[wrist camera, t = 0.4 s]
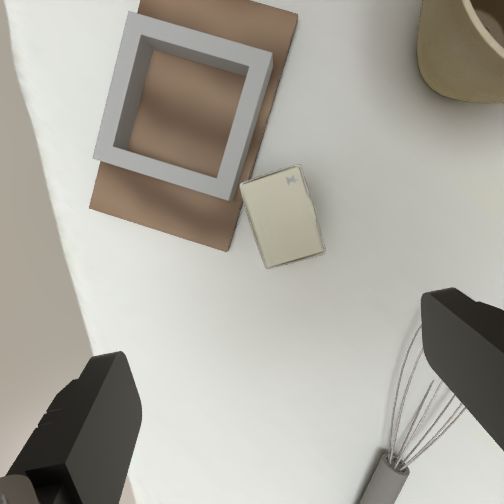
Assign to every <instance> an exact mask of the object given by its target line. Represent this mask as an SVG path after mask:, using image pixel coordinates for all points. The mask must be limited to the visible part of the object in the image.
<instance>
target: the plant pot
mask: <svg viewBox="0 0 504 504" xmlns="http://www.w3.org/2000/svg"><path fill="white" fill-rule="evenodd" d="M417 56H418V65H419V69H420V73H421V75H422V77H423V79H424V81H425V82H426V83H427V85H428V86H429V87H430V88H431V89H432V90H434V91H435V92H437V93H439V94H441V95H443V96H446V97H449V98H453V99H457V100H462V101H469V102H478V103H504V0H423V4H422V9H421V14H420V20H419V29H418V39H417Z"/></svg>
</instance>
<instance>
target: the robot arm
mask: <svg viewBox="0 0 504 504" xmlns="http://www.w3.org/2000/svg"><path fill="white" fill-rule="evenodd" d="M421 317H422V341H423V349H424V353H425V356H426V359H427V361H428V363H429V365H430V366H431V368H432V369H433V370H434V371H435V372H436V374H437V375H438V376H439V377H440V378H441V379H442V380H443V382H444V383H445V384H446V385H447V386H448V387H449V389H450V390H451V391H452V392H453V393H454V394H455V395H456V397H457V398H458V399H459V400H460V401H461V402H462V404H463V405H464V406H465V407H466V408H467V409H468V410H469V412H470V413H471V414H472V415H473V416H474V417H475V418H476V420H477V421H478V422H479V423H480V424H481V425H482V427H483V428H484V429H485V430H486V431H487V432H488V433H489V435H490V436H491V437H492V438H493V439H494V440H495V442H496V443H497V444H498V445H499V446H500V447H501V448H502V450H503V451H504V311H503V310H502V309H500V308H497V307H494V306H491V305H488V304H485V303H482V302H475V301H474V300H472V299H471V298H469V297H468V296H466V295H465V294H463V293H462V292H460V291H459V290H458V289H456V288H447V289H442V290H436V291H431V292H426V293H424V294H423V295H422V297H421ZM141 422H142V406H141V400H140V397H139V394H138V391H137V388H136V385H135V382H134V379H133V376H132V373H131V370H130V367H129V364H128V360H127V358H126V356H125V354H124V353H123V352H122V351H119V352H114V353H108V354H103V355H98V356H93V357H91V359H90V360H89V361H88V363H87V365H86V367H85V368H84V370H83V372H82V373H81V375H80V377H79V379H75V380H72V381H71V382H70V383H69V384H68V385H67V386H66V387H65V388H63V390H61V391H60V392H59V393H58V394H57V395H56V397H55V398H54V400H53V401H52V403H51V404H50V406H49V408H48V409H47V414H44V415H43V417H42V419H41V420H40V422H39V424H38V428H36V429H35V430H34V431H33V433H32V434H31V436H30V438H29V439H28V441H27V442H26V444H25V446H24V447H23V449H22V450H21V452H20V454H19V455H18V457H17V458H16V460H15V462H14V463H13V465H12V466H11V468H10V470H9V471H8V473H7V474H6V476H4V477H1V478H0V504H119V500H120V497H121V494H122V490H123V487H124V483H125V479H126V476H127V472H128V469H129V465H130V462H131V458H132V455H133V451H134V448H135V444H136V440H137V437H138V433H139V430H140V426H141Z"/></svg>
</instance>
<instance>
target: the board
mask: <svg viewBox="0 0 504 504" xmlns="http://www.w3.org/2000/svg"><path fill="white" fill-rule="evenodd" d="M137 14H141V15H144V16H148V17H151V18H155V19H158V20H161V21H165V22H168V23H172V24H175V25H179V26H182V27H185V28H189V29H192V30H196V31H199V32H203V33H206V34H209V35H213V36H216V37H220V38H223V39H227V40H230V41H234V42H237V43H240V44H244V45H247V46H251V47H254V48H258V49H261V50H264V51H268V52H271V53H272V55H273V69H272V73H271V76H270V79H269V83H268V86H267V90H266V93H265V96H264V100H263V103H262V106H261V110H260V113H259V116H258V120H257V123H256V126H255V130H254V133H253V136H252V140H251V143H250V146H249V150H248V153H247V156H246V160H245V163H244V167H243V170H242V173H241V177H240V180H239V183H238V187H237V190H236V193H235V197H234V200H233V201H228V200H224V199H221V198H218V197H215V196H212V195H208V194H205V193H202V192H199V191H196V190H192V189H189V188H186V187H183V186H180V185H176V184H173V183H170V182H167V181H164V180H160V179H157V178H154V177H151V176H148V175H144V174H141V173H138V172H135V171H131V170H128V169H125V168H122V167H119V166H115V165H112V164H109V163H106V162H103V161H100V166H99V170H98V174H97V178H96V182H95V186H94V190H93V194H92V198H91V202H90V206H89V208H90V209H93V210H96V211H99V212H102V213H105V214H108V215H112V216H115V217H118V218H121V219H124V220H127V221H130V222H134V223H137V224H140V225H143V226H146V227H149V228H152V229H156V230H159V231H162V232H165V233H168V234H171V235H174V236H178V237H181V238H184V239H187V240H190V241H193V242H196V243H199V244H203V245H206V246H209V247H212V248H215V249H218V250H221V251H225V252H227V251H228V250H229V247H230V244H231V240H232V237H233V234H234V230H235V227H236V224H237V220H238V217H239V214H240V210H241V207H242V204H243V198H242V194H241V190H240V184H241V183H242V182H245V181H248V180H250V177H251V174H252V171H253V167H254V164H255V161H256V158H257V154H258V151H259V148H260V144H261V141H262V138H263V134H264V131H265V128H266V124H267V121H268V118H269V115H270V111H271V108H272V105H273V101H274V98H275V95H276V91H277V88H278V85H279V81H280V78H281V75H282V72H283V68H284V65H285V62H286V58H287V55H288V52H289V48H290V45H291V42H292V38H293V35H294V32H295V29H296V25H297V20H298V14H296V13H292V12H289V11H285V10H282V9H278V8H275V7H271V6H268V5H264V4H261V3H257V2H254V1H250V0H140V4H139V8H138V13H137ZM245 80H246V77H245V76H242V75H238V74H235V73H232V72H228V71H225V70H221V69H218V68H215V67H211V66H208V65H204V64H201V63H198V62H194V61H191V60H188V59H184V58H181V57H177V56H174V55H171V54H167V53H164V52H160V51H157V50H154V49H153V52H152V56H151V60H150V64H149V68H148V71H147V75H146V79H145V83H144V87H143V91H142V95H141V99H140V103H139V107H138V110H137V114H136V118H135V122H134V126H133V130H132V134H131V138H130V142H129V146H128V149H127V151H129V152H132V153H136V154H139V155H142V156H145V157H149V158H152V159H155V160H158V161H162V162H165V163H168V164H171V165H174V166H178V167H181V168H184V169H187V170H191V171H194V172H197V173H200V174H204V175H207V176H210V177H213V178H216V179H217V176H218V173H219V169H220V166H221V162H222V159H223V155H224V152H225V149H226V145H227V142H228V138H229V135H230V131H231V128H232V124H233V121H234V118H235V114H236V111H237V107H238V104H239V100H240V97H241V93H242V90H243V87H244V83H245Z"/></svg>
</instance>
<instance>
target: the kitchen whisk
mask: <svg viewBox="0 0 504 504" xmlns="http://www.w3.org/2000/svg"><path fill="white" fill-rule="evenodd" d="M421 327H422V324H421V325H420V327H419V328H418V329H417V331H416V333H415V335H414V338H413V340H412V342H411V344H410V346H409V348H408V351H407V354H406V357H405V360H404V363H403V366H402V370H401V374H400V378H399V382H398V387H397V392H396V397H395V403H394V408H393V415H392V423H391V431H390V440H389V452H388V453H385V454H383V455H382V457H381V460H380V462H379V464H378V466H377V468H376V470H375V472H374V474H373V476H372V478H371V480H370V482H369V484H368V486H367V488H366V490H365V492H364V495H363V497H362V499H361V501H360V503H359V504H394V503H395V501H396V499H397V497H398V495H399V493H400V491H401V489H402V487H403V485H404V483H405V481H406V479H407V477H408V475H409V473H410V471H409V468H408V467H407V466H408V465H409V464H410V463H412V462H413V461H414V460H415V459H416V458H418V457H419V456H420V455H421V454H422V453H423V452H424V451H426V450H427V449H428V448H429V447H430V446H431V445H432V444H433V443H434V442H435V441H436V440H437V439H438V438H439V437H441V436H442V435H443V434H444V432H445V431H446V430H447V429H448V428H449V427H450V426H451V425H452V424H453V423H454V422H455V421H456V420H457V419H458V418H459V416H460V415H461V414H462V413H463V412H464V411H465V409H466V407H465V408H464V409H463V410H462V411H461V413H460V414H459V415H458V416H457V417H456V418H455V420H454V421H453V422H452V423H451V424H450V425H449V426H448V427H447V428H446V429H445V430H444V431H443V432H442V433H441V434H440V435H439V436H438V437H437V438H436V439H435V440H434V438H435V437H436V436H437V435H438V434H439V433H440V432H441V431H442V430H443V428H444V427H445V426H446V425H447V424H448V423H449V421H450V420H451V419H452V418H453V416H454V415H455V414H456V413H457V411H458V410H459V409H460V407H461V406H462V405H463V404H462V403H461V404H460V406H459V407H458V408H457V410H456V411H455V412H454V413H453V415H452V416H451V417H450V418H449V420H448V421H447V422H446V423H445V425H444V426H443V427H442V428H441V429H440V430H439V431H438V432H437V434H436V435H435V436H434V437H433V438H432V439H431V440H430V441H429V442H428V443H427V444H426V445H425V446H424V447H423V448H422V449H421V450H420V451H419V452H418V453H417V454H416V455H415V456H414V457H413V458H412V459H411V460H410V461H409V462H407V463H406V464H405V463H404V462H405V461H406V460H407V459H408V457H409V456H410V455H411V454H412V453H413V451H414V450H415V449H416V448H417V446H418V445H419V444H420V443H421V442H422V440H423V439H424V438H425V437H426V435H427V434H428V433H429V431H430V430H431V429H432V428H433V426H434V425H435V424H436V422H437V421H438V420H439V418H440V417H441V415H442V414H443V413H444V411H445V410H446V409H447V407H448V406H449V404H450V403H451V402H452V400H453V399H454V397H455V396H456V395H455V394H454V396H453V397H452V399H451V400H450V402H449V403H448V404H447V406H446V407H445V409H444V410H443V411H442V413H441V414H440V415H439V417H438V418H437V419H436V421H435V422H434V424H433V425H432V426H431V427H430V429H429V430H428V431H427V433H426V434H425V435H424V436H423V438H422V439H421V440H420V441H419V443H418V444H417V445H416V446H415V448H414V449H413V450H412V451H411V452H410V454H409V455H408V456H407V457H406V458H405V460H404V461H402V460H401V458H402V456H403V454H404V453H405V451H406V449H407V447H408V446H409V444H410V442H411V440H412V438H413V437H414V435H415V433H416V431H417V429H418V428H419V426H420V424H421V422H422V420H423V418H424V417H425V415H426V413H427V411H428V409H429V407H430V405H431V403H432V402H433V400H434V398H435V396H436V394H437V392H438V390H439V388H440V386H441V384H442V383H443V380H441V382H440V384H439V386H438V388H437V390H436V392H435V394H434V396H433V398H432V400H431V402H430V403H429V405H428V407H427V409H426V411H425V413H424V415H423V417H422V418H421V420H420V422H419V424H418V426H417V428H416V429H415V431H414V433H413V435H412V437H411V438H410V440H409V442H408V444H407V446H406V447H405V449H404V451H403V453H402V455H401V456H400V454H401V451H402V449H403V447H404V445H405V443H406V440H407V438H408V436H409V434H410V432H411V429H412V427H413V425H414V423H415V421H416V418H417V416H418V414H419V412H420V410H421V408H422V405H423V403H424V401H425V399H426V397H427V395H428V393H429V390H430V388H431V386H432V384H433V382H434V380H433V382H432V383H431V385H430V387H429V389H428V391H427V393H426V395H425V398H424V400H423V402H422V404H421V406H420V408H419V410H418V413H417V415H416V417H415V419H414V421H413V424H412V426H411V428H410V430H409V432H408V435H407V437H406V439H405V441H404V443H403V446H402V448H401V450H400V452H399V454H398V457H396V456H394V455H393V451H394V446H395V441H396V436H397V431H398V427H399V422H400V418H401V413H402V409H403V405H404V401H405V397H406V394H407V391H408V388H409V384H410V381H411V378H412V376H413V373H414V370H415V368H416V365H417V363H418V360H419V358H420V356H421V354H422V352H423V348H422V350H421V352H420V354H419V356H418V358H417V361H416V363H415V366H414V368H413V371H412V374H411V376H410V378H409V381H408V385H407V388H406V392H405V395H404V398H403V402H402V406H401V410H400V413H399V417H398V422H397V426H396V430H395V435H394V440H393V445H392V451H391V454H390V446H391V436H392V426H393V419H394V412H395V405H396V400H397V395H398V389H399V385H400V381H401V377H402V373H403V368H404V365H405V362H406V359H407V356H408V353H409V350H410V348H411V345H412V343H413V341H414V339H415V337H416V335H417V333H418V331H419V329H420V328H421ZM433 440H434V441H433ZM432 441H433V442H432ZM431 442H432V443H431ZM430 443H431V444H430ZM429 444H430V445H429ZM428 445H429V446H428ZM427 446H428V447H427ZM399 456H400V458H399Z"/></svg>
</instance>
